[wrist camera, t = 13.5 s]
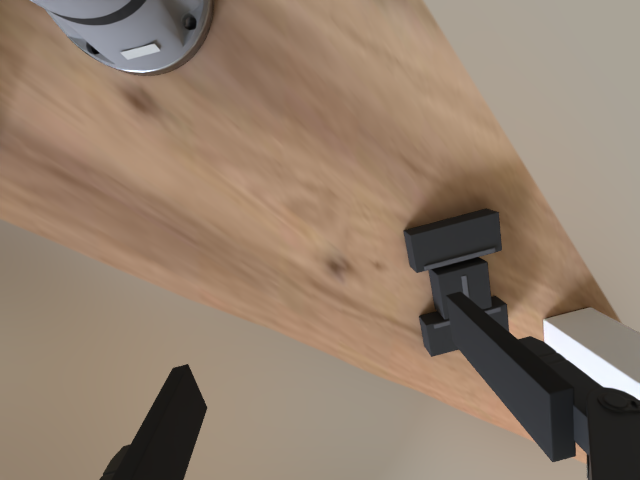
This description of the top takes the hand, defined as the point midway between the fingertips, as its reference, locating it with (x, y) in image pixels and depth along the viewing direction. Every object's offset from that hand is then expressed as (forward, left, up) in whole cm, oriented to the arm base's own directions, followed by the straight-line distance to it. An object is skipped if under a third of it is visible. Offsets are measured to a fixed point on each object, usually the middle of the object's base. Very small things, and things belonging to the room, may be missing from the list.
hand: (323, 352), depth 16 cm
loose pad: (+12, +17, -25) cm, 33 cm away
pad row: (+12, +17, -25) cm, 33 cm away
